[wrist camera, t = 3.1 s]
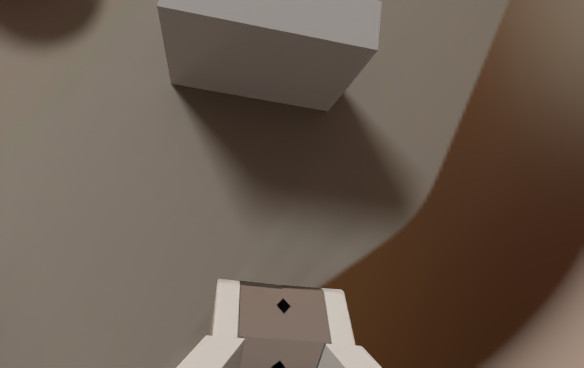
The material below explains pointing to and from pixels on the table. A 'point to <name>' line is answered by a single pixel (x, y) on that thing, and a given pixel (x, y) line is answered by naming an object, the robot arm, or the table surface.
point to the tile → (270, 46)
